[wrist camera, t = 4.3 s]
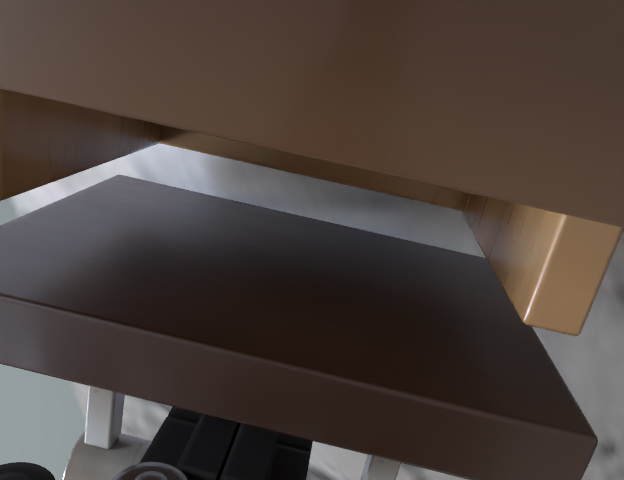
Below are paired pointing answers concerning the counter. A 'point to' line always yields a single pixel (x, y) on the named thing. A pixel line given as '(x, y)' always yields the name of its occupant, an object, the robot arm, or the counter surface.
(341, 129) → the cabinet
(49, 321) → the drawer
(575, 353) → the counter surface
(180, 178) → the counter surface
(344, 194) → the counter surface
